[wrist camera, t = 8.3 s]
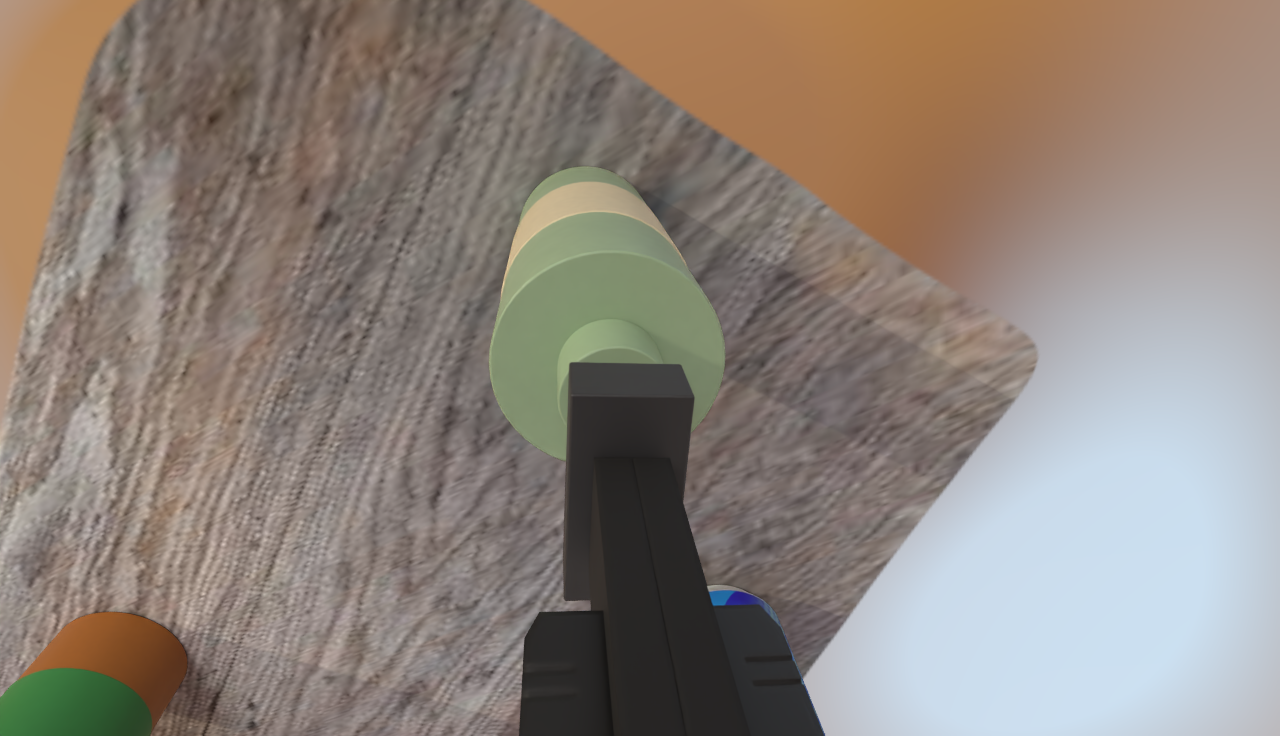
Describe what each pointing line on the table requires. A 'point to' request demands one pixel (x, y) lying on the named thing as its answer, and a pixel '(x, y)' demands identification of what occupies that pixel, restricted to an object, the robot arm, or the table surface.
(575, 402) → the dark peg block
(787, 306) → the table surface
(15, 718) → the amber bottle
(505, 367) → the green bottle
